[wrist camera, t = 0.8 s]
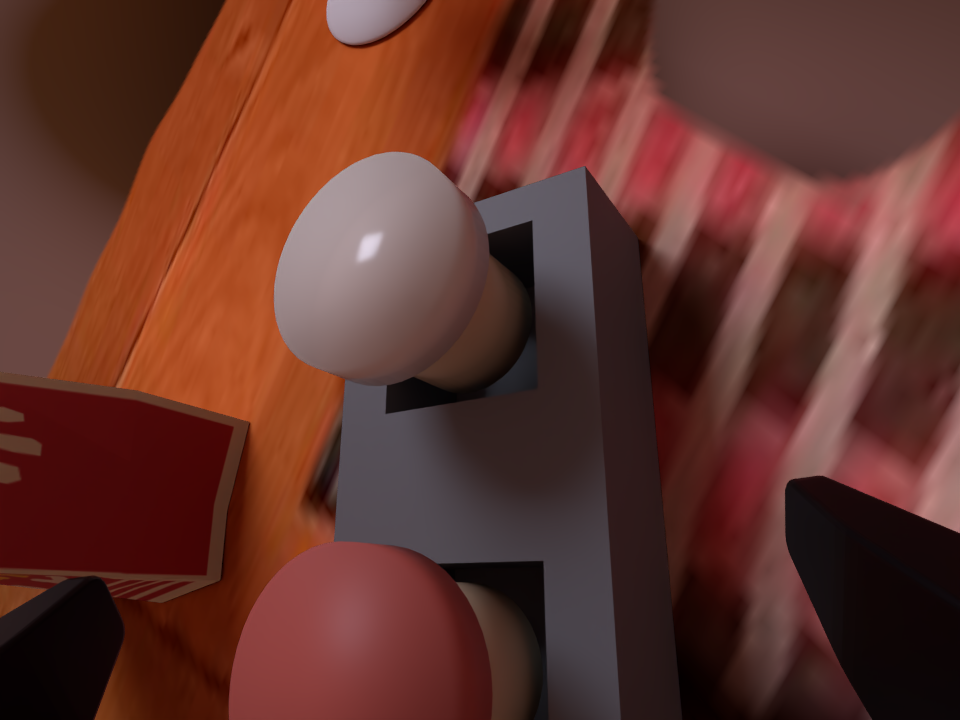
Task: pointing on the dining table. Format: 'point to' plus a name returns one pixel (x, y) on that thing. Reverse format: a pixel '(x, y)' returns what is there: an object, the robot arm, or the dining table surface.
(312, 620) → the knob mid
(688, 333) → the dining table surface
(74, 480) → the milk carton
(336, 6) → the wineglass
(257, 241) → the dining table surface
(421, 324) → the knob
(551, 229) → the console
